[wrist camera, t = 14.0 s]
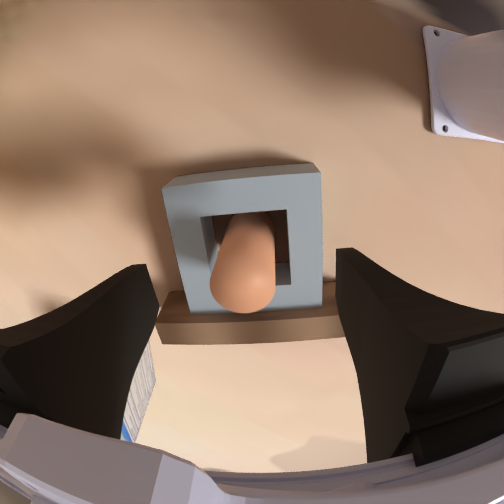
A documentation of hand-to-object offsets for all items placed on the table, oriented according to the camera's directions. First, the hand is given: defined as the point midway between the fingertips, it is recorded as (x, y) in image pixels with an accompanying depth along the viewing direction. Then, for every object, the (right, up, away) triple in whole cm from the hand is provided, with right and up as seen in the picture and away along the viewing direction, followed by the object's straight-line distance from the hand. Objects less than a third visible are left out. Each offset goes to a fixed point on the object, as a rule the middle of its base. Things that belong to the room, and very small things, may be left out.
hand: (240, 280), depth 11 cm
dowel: (0, +2, +10) cm, 10 cm away
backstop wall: (+1, -3, +12) cm, 13 cm away
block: (0, +2, +10) cm, 10 cm away
